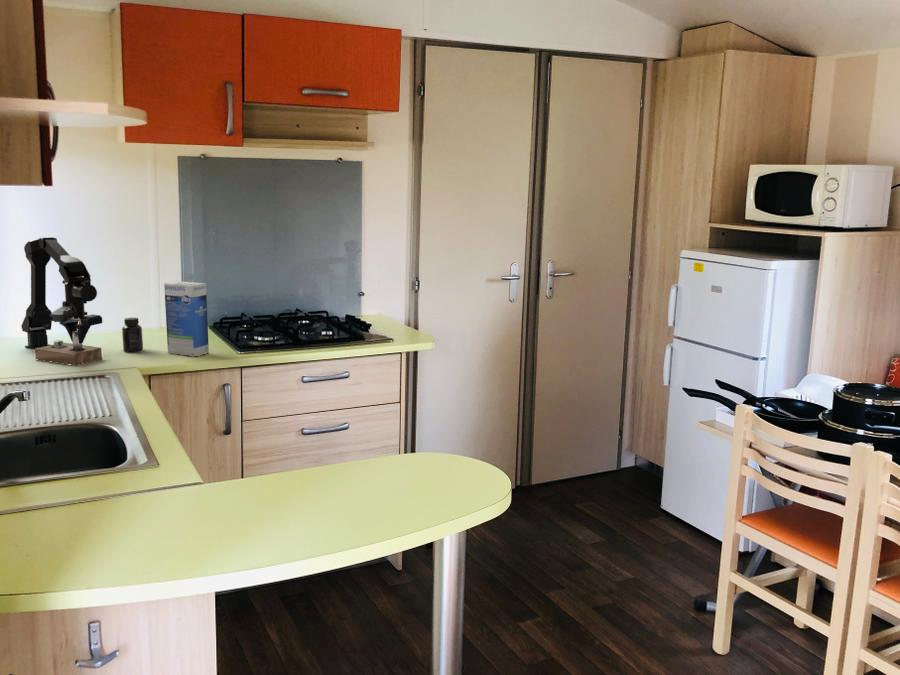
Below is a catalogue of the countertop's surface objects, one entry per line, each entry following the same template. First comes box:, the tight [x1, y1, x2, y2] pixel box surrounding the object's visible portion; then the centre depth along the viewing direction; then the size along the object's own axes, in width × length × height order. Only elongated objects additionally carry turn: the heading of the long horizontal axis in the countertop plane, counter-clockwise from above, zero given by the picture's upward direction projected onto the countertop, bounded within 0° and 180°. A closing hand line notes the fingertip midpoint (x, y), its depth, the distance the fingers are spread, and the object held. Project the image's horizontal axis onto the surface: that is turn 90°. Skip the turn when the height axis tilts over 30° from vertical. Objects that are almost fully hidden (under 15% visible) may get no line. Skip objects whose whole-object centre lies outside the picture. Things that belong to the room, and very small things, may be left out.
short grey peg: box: [53, 339, 64, 349], centre depth 301 cm, size 3×3×6 cm
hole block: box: [34, 341, 103, 366], centre depth 299 cm, size 12×18×4 cm, turn 66°
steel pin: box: [72, 329, 83, 351], centre depth 297 cm, size 3×3×8 cm
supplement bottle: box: [121, 317, 144, 353], centre depth 314 cm, size 7×7×12 cm
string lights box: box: [163, 280, 210, 357], centre depth 310 cm, size 13×8×26 cm, turn 68°
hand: (77, 342), depth 297 cm, fingers closed on steel pin, 3 cm apart
